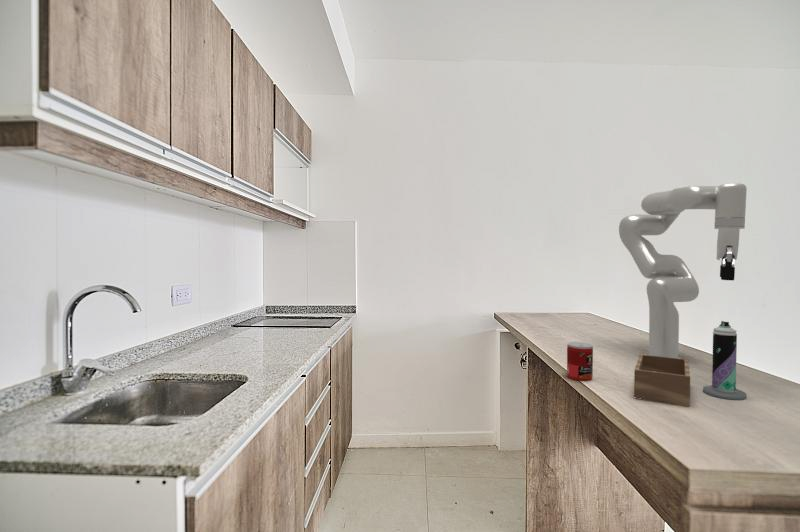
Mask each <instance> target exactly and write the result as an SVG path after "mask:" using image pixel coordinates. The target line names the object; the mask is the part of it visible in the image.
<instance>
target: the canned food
mask: <svg viewBox="0 0 800 532" xmlns="http://www.w3.org/2000/svg"><path fill="white" fill-rule="evenodd" d="M566 347H567V348H566V374H567V377H568V378H569V379H571V380H575V381H579V382H588V381H587V380H589V381H591V380H593V379H592V378H593V370H594V368H593V366H594V364H593V363H594V346H593V344H591V343H588V342H583V341H571V342H570V341H569V342H567V345H566Z"/></svg>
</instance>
